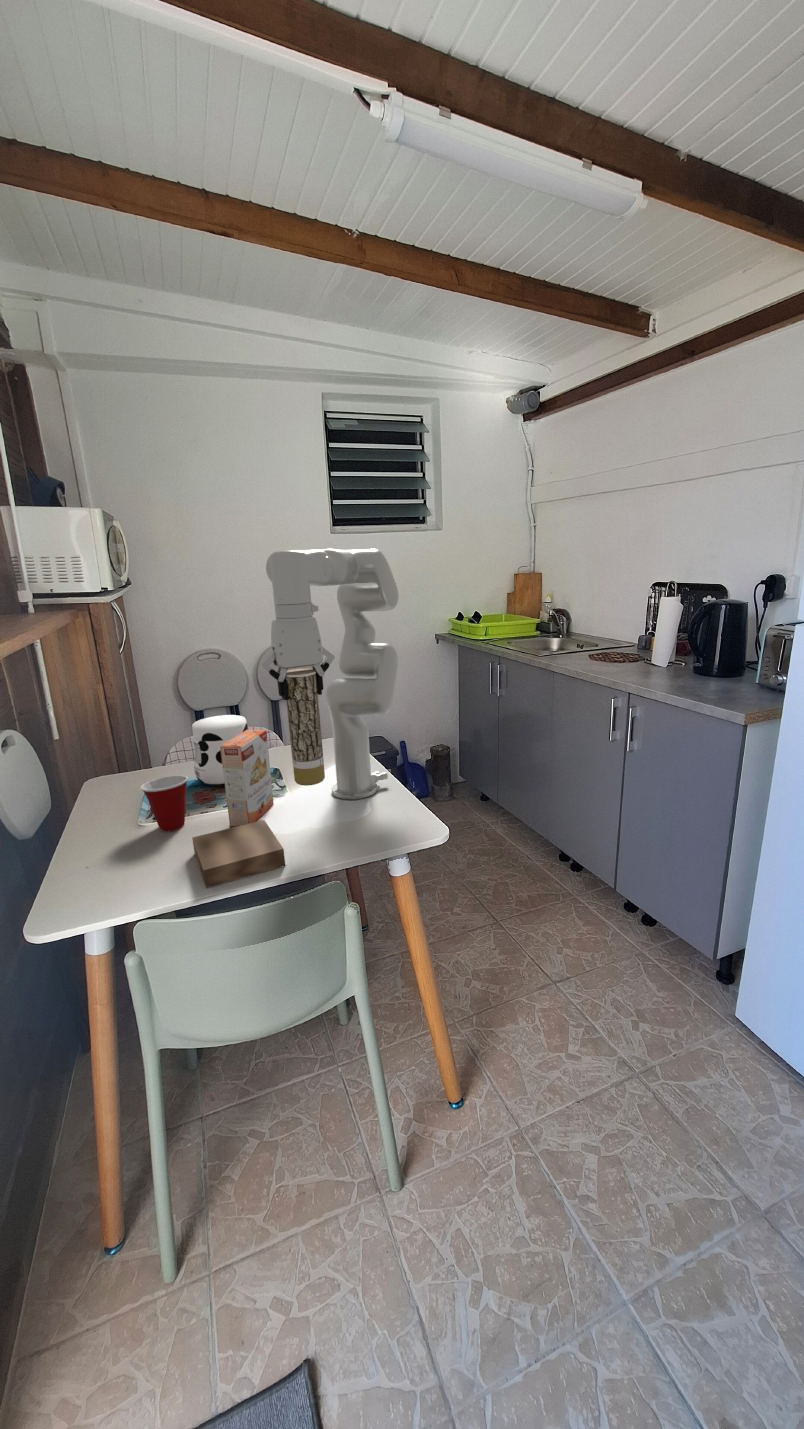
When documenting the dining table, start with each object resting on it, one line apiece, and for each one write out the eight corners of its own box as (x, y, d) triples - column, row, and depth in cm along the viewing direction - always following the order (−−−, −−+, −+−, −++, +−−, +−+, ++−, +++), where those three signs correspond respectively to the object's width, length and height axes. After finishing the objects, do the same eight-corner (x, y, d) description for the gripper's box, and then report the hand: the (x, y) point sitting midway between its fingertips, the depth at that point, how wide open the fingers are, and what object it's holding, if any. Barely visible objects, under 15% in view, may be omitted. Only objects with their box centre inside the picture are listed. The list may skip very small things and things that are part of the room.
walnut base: (266, 835, 130) (264, 819, 129) (285, 865, 117) (283, 848, 116) (194, 853, 123) (192, 837, 122) (206, 888, 110) (203, 870, 109)
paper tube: (300, 789, 121) (288, 676, 114) (290, 779, 126) (279, 671, 120) (329, 782, 124) (320, 671, 117) (319, 773, 129) (309, 667, 123)
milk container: (266, 770, 173) (260, 714, 168) (238, 792, 157) (230, 731, 152) (216, 767, 177) (209, 713, 172) (184, 789, 161) (175, 729, 156)
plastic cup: (183, 812, 145) (176, 769, 142) (202, 824, 137) (195, 779, 134) (141, 827, 138) (132, 782, 135) (158, 840, 130) (150, 793, 127)
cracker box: (251, 828, 134) (241, 746, 129) (229, 827, 136) (217, 745, 130) (275, 804, 148) (267, 728, 142) (254, 803, 149) (245, 728, 143)
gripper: (326, 608, 122) (333, 687, 127) (247, 614, 115) (257, 699, 119) (339, 610, 116) (345, 693, 120) (256, 617, 108) (266, 706, 113)
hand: (301, 695), depth 120 cm, fingers closed on paper tube, 6 cm apart
